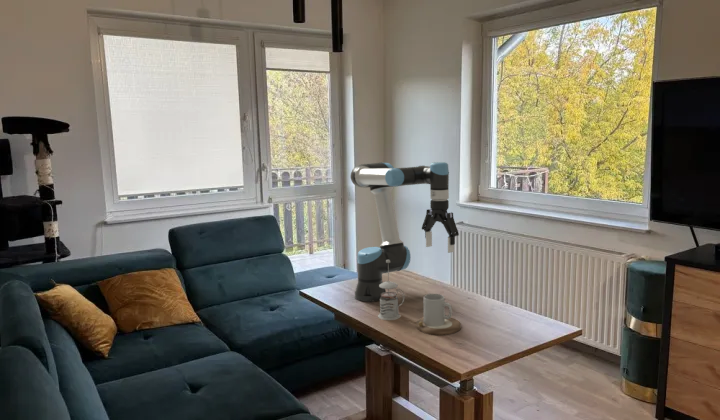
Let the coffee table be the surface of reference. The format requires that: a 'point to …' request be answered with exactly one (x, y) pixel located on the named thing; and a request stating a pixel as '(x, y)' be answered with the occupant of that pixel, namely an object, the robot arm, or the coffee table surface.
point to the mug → (435, 310)
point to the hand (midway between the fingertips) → (439, 249)
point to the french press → (390, 312)
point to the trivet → (439, 327)
